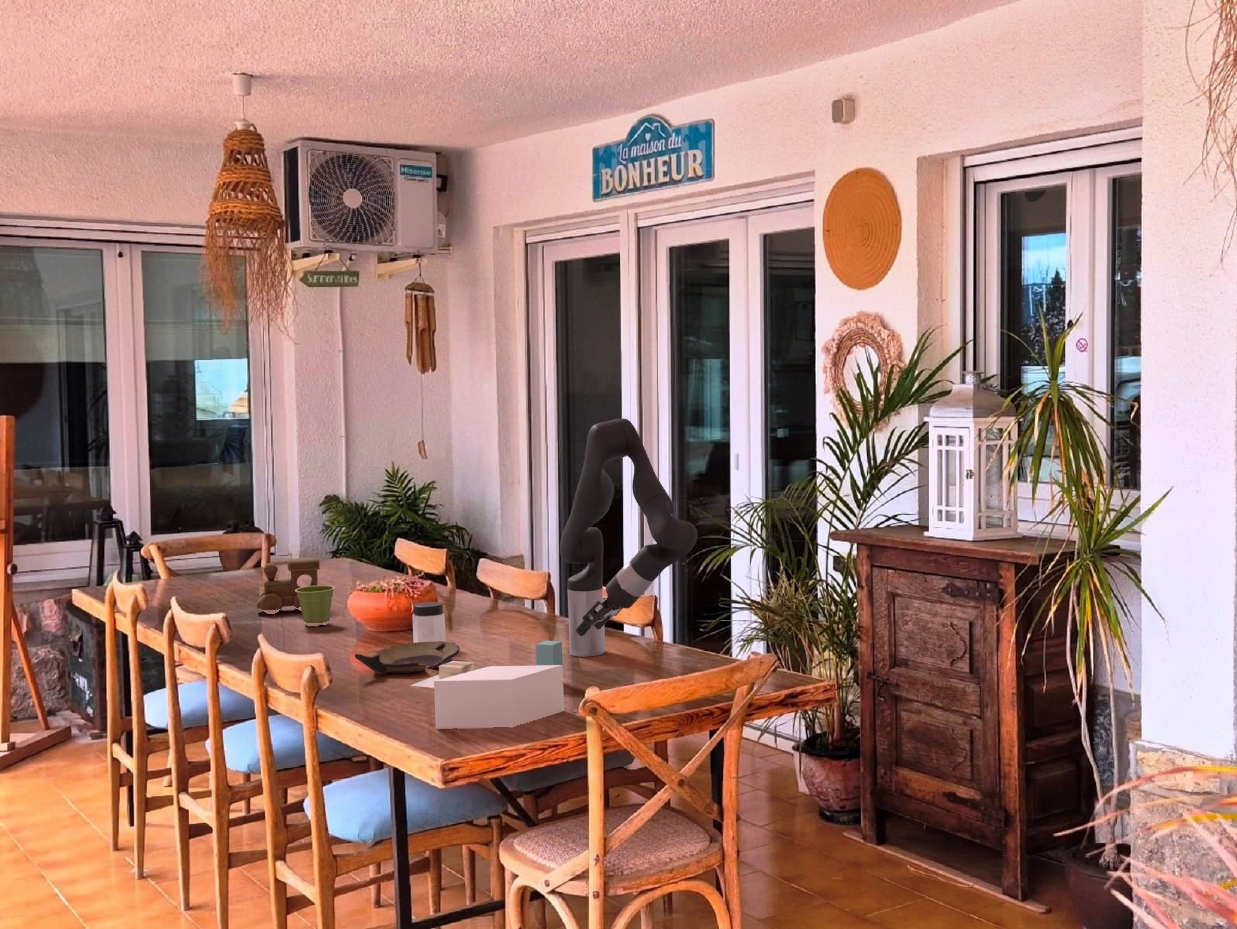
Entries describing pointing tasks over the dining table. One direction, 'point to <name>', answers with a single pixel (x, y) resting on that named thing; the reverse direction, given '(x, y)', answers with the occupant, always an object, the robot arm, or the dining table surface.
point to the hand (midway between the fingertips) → (587, 630)
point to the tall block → (549, 653)
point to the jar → (428, 622)
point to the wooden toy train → (286, 584)
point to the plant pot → (315, 603)
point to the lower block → (455, 668)
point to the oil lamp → (410, 657)
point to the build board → (427, 682)
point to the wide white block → (498, 696)
